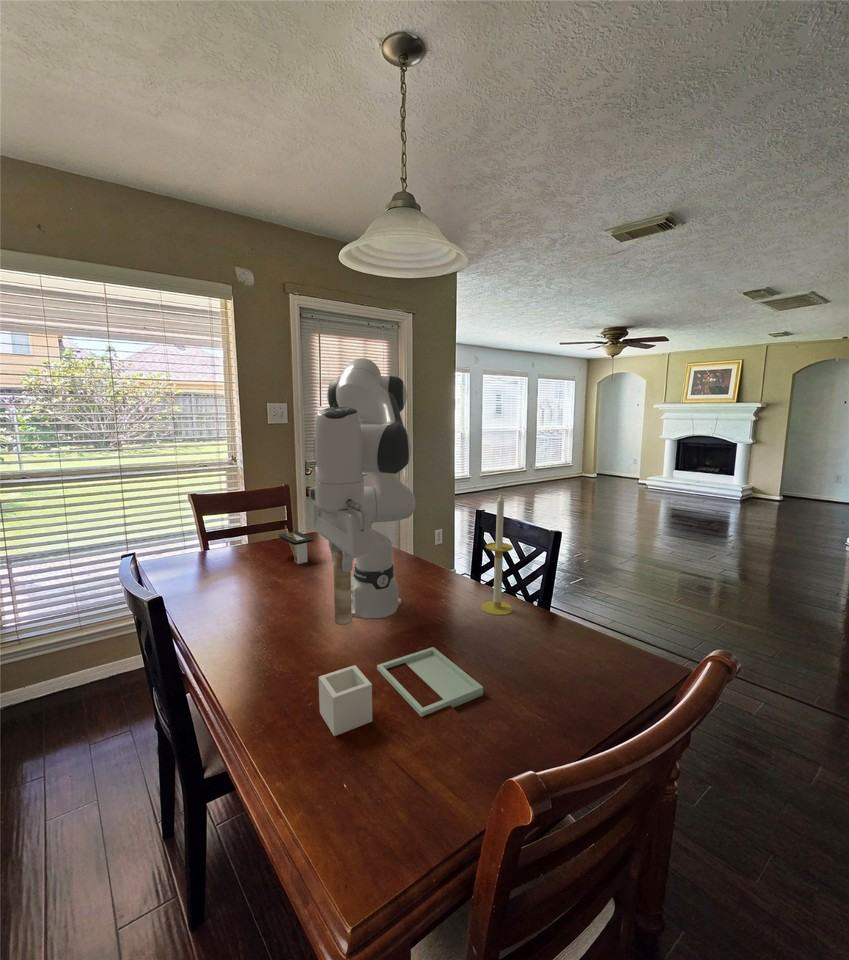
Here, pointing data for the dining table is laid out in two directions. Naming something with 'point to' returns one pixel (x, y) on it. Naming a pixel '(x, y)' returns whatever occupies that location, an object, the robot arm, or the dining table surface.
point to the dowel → (341, 591)
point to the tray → (435, 680)
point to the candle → (498, 566)
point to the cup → (345, 699)
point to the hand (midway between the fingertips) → (342, 566)
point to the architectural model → (297, 544)
